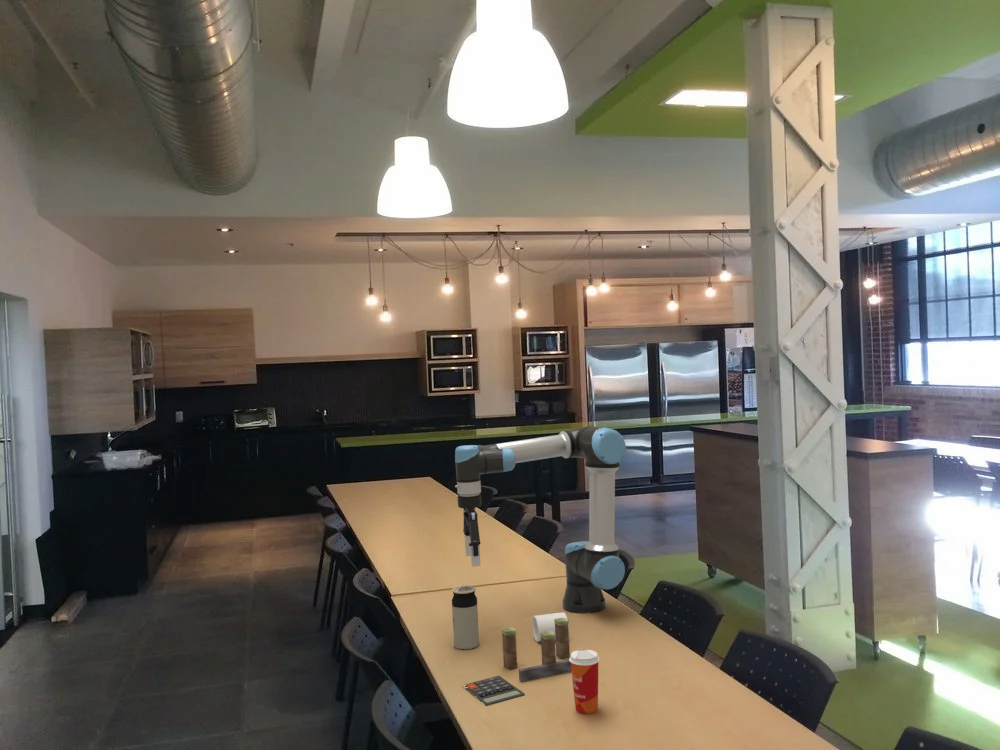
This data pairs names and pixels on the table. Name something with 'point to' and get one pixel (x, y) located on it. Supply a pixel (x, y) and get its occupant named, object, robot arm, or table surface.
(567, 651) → the header dock
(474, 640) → the travel mug
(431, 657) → the table surface
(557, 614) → the mug
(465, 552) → the robot arm
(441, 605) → the table surface
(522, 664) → the table surface
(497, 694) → the calculator
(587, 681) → the paper cup
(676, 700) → the table surface
